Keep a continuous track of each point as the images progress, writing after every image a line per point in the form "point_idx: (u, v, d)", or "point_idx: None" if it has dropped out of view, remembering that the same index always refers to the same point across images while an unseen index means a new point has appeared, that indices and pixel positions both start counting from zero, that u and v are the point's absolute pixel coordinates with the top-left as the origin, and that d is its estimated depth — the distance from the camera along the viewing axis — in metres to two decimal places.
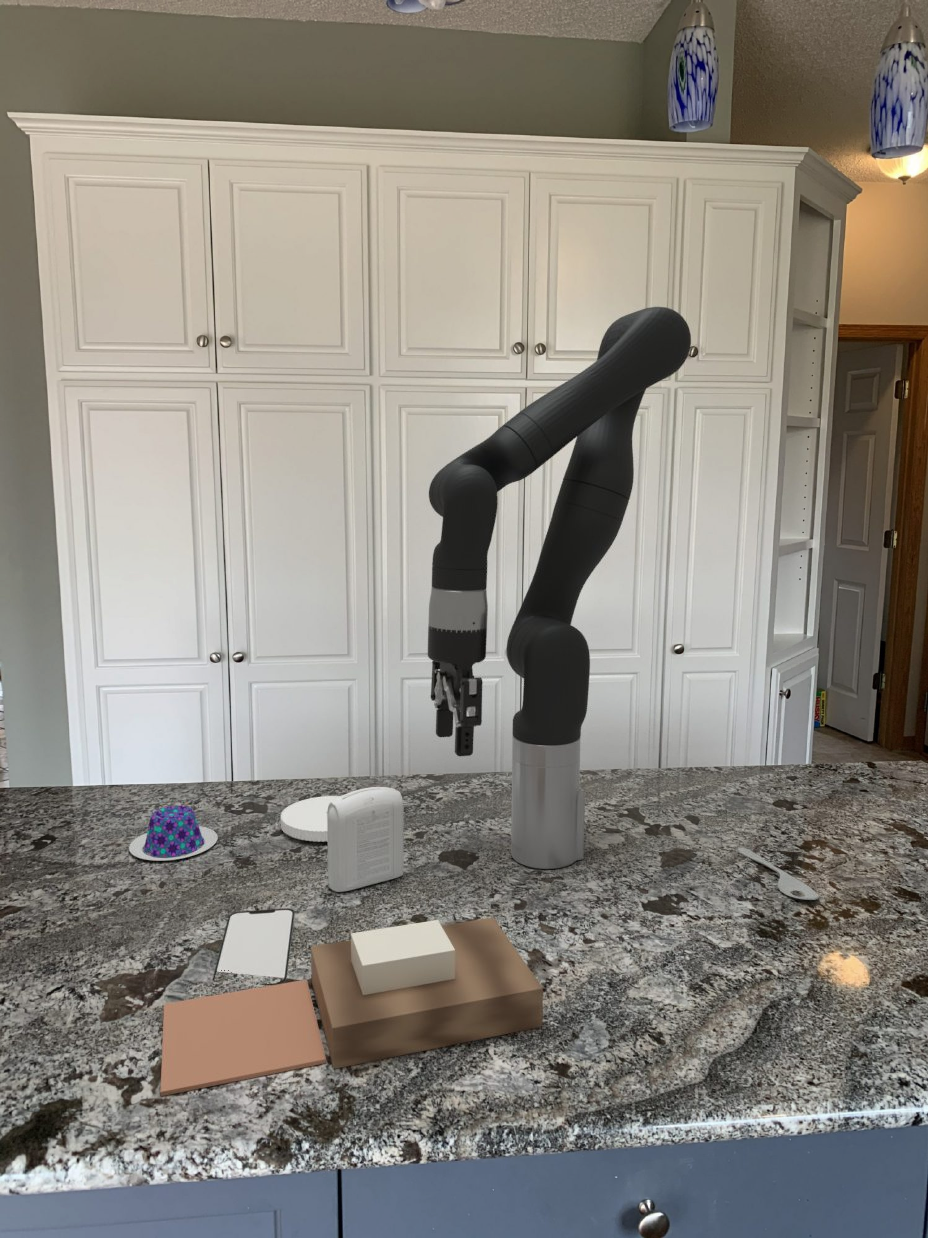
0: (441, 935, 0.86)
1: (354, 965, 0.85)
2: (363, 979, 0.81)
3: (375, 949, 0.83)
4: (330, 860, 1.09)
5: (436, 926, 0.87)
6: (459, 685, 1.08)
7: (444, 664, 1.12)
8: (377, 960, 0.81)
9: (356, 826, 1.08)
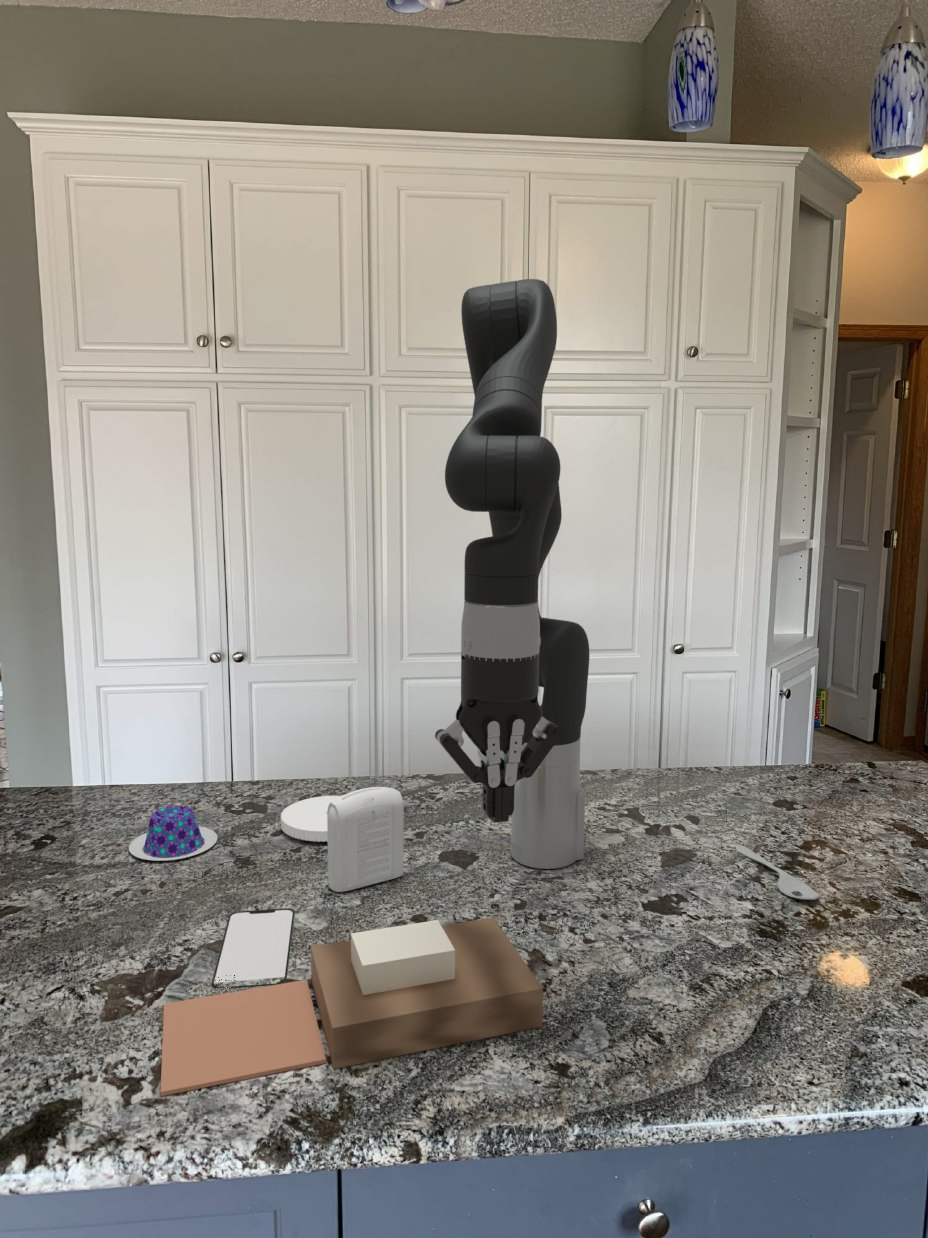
0: (441, 935, 0.86)
1: (354, 965, 0.85)
2: (363, 979, 0.81)
3: (375, 949, 0.83)
4: (330, 860, 1.09)
5: (436, 926, 0.87)
6: None
7: (487, 709, 0.82)
8: (377, 960, 0.81)
9: (356, 826, 1.08)
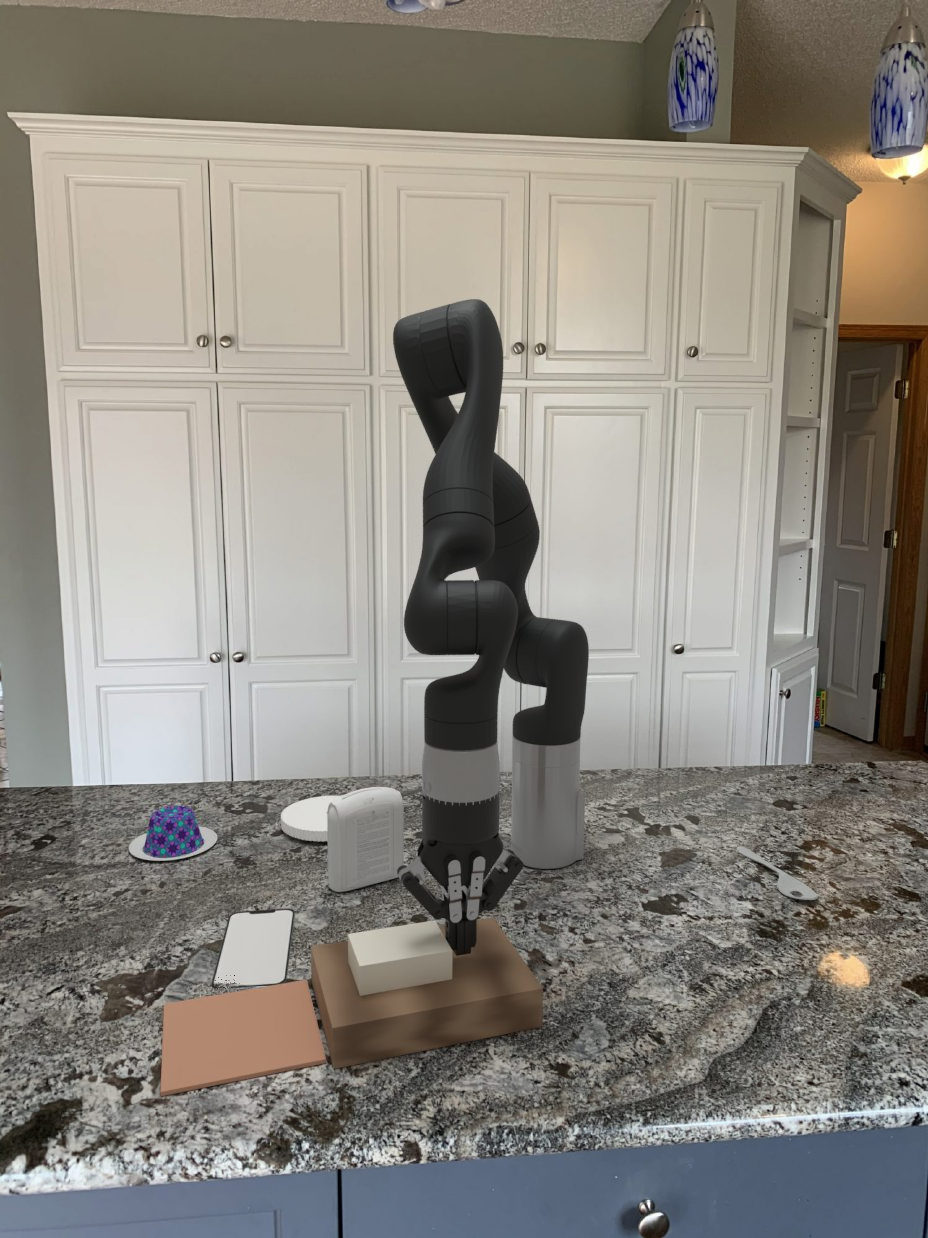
0: (438, 935, 0.85)
1: (351, 966, 0.85)
2: (360, 980, 0.80)
3: (372, 949, 0.83)
4: (330, 860, 1.09)
5: (433, 926, 0.87)
6: None
7: (448, 847, 0.83)
8: (374, 961, 0.81)
9: (356, 826, 1.08)
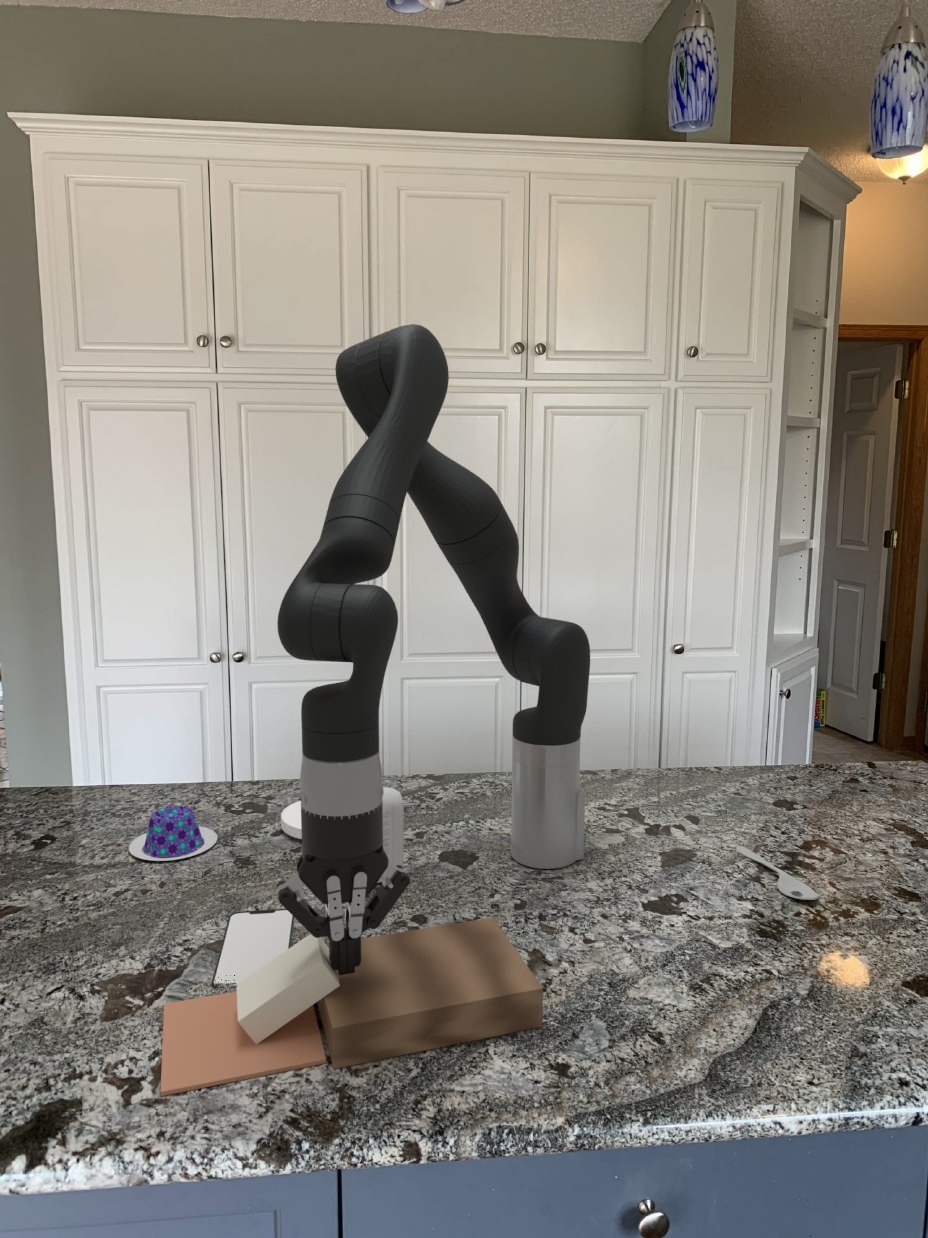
0: (314, 949, 0.82)
1: None
2: (247, 1031, 0.79)
3: (253, 994, 0.81)
4: None
5: (312, 939, 0.84)
6: None
7: (327, 863, 0.79)
8: (252, 1008, 0.79)
9: None
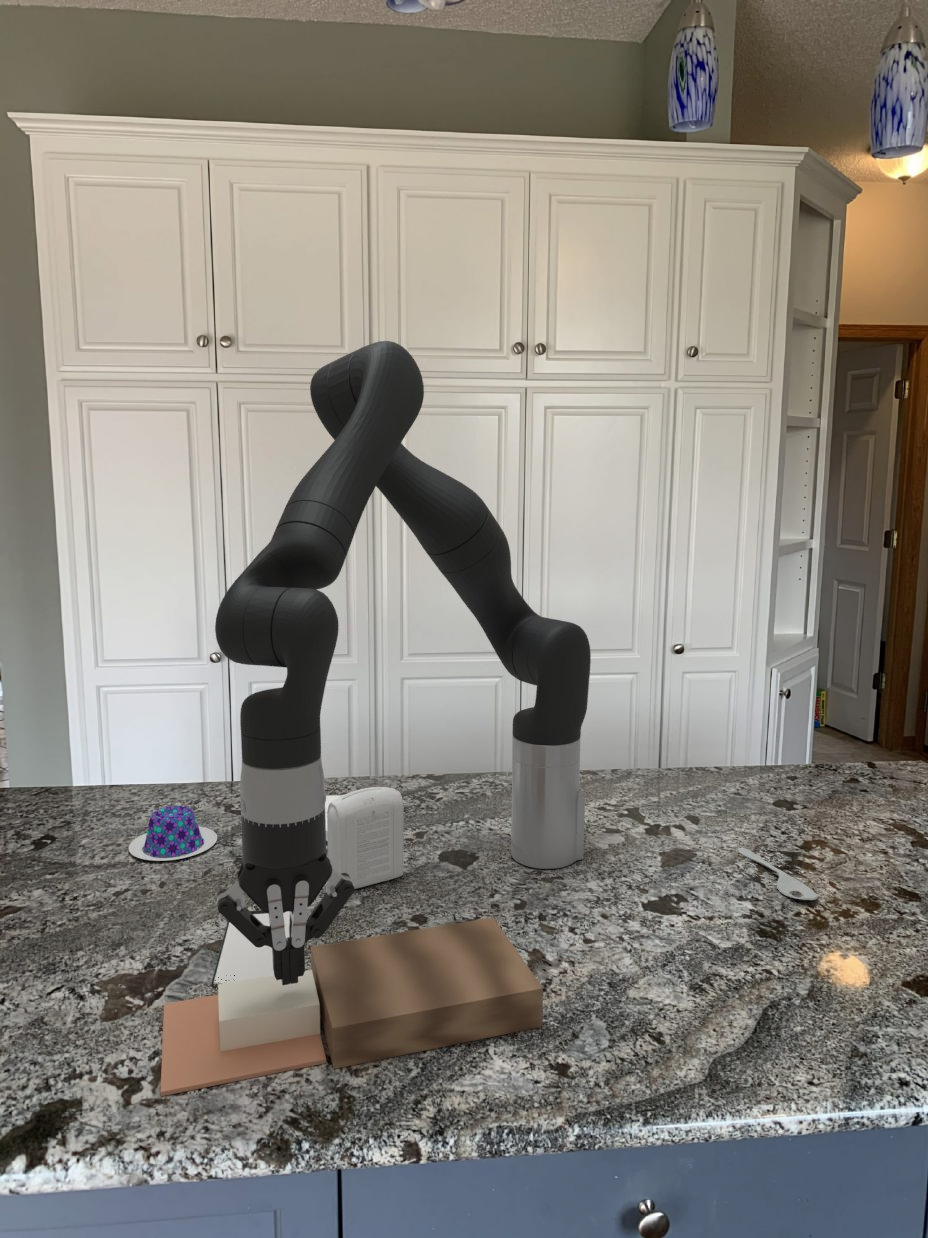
0: (310, 987, 0.83)
1: None
2: (220, 1035, 0.78)
3: (238, 1002, 0.81)
4: (330, 860, 1.09)
5: (308, 977, 0.85)
6: None
7: (268, 871, 0.78)
8: (236, 1015, 0.79)
9: (356, 826, 1.08)
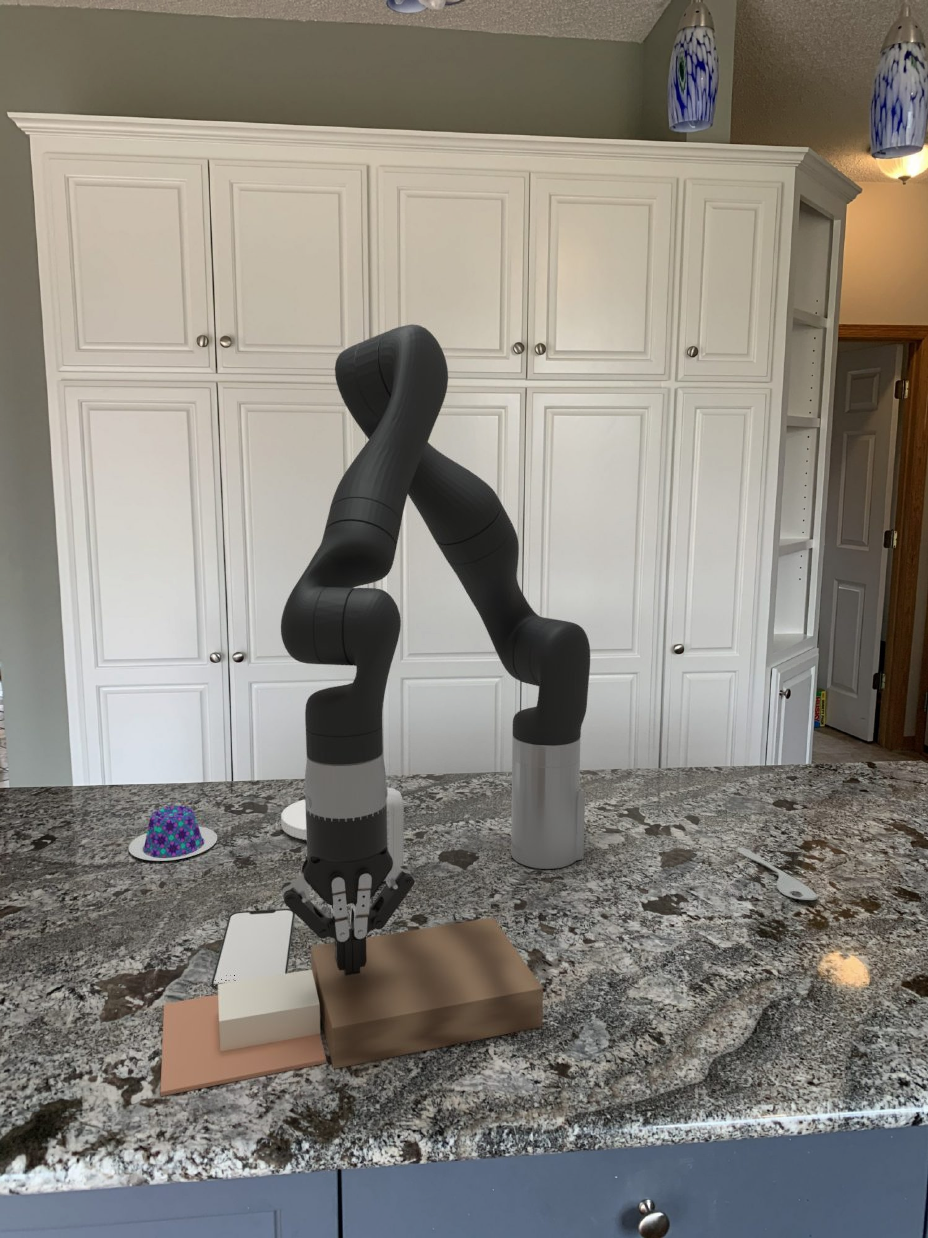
0: (310, 987, 0.83)
1: None
2: (220, 1035, 0.78)
3: (238, 1002, 0.81)
4: None
5: (308, 977, 0.85)
6: None
7: (332, 864, 0.80)
8: (236, 1015, 0.79)
9: None
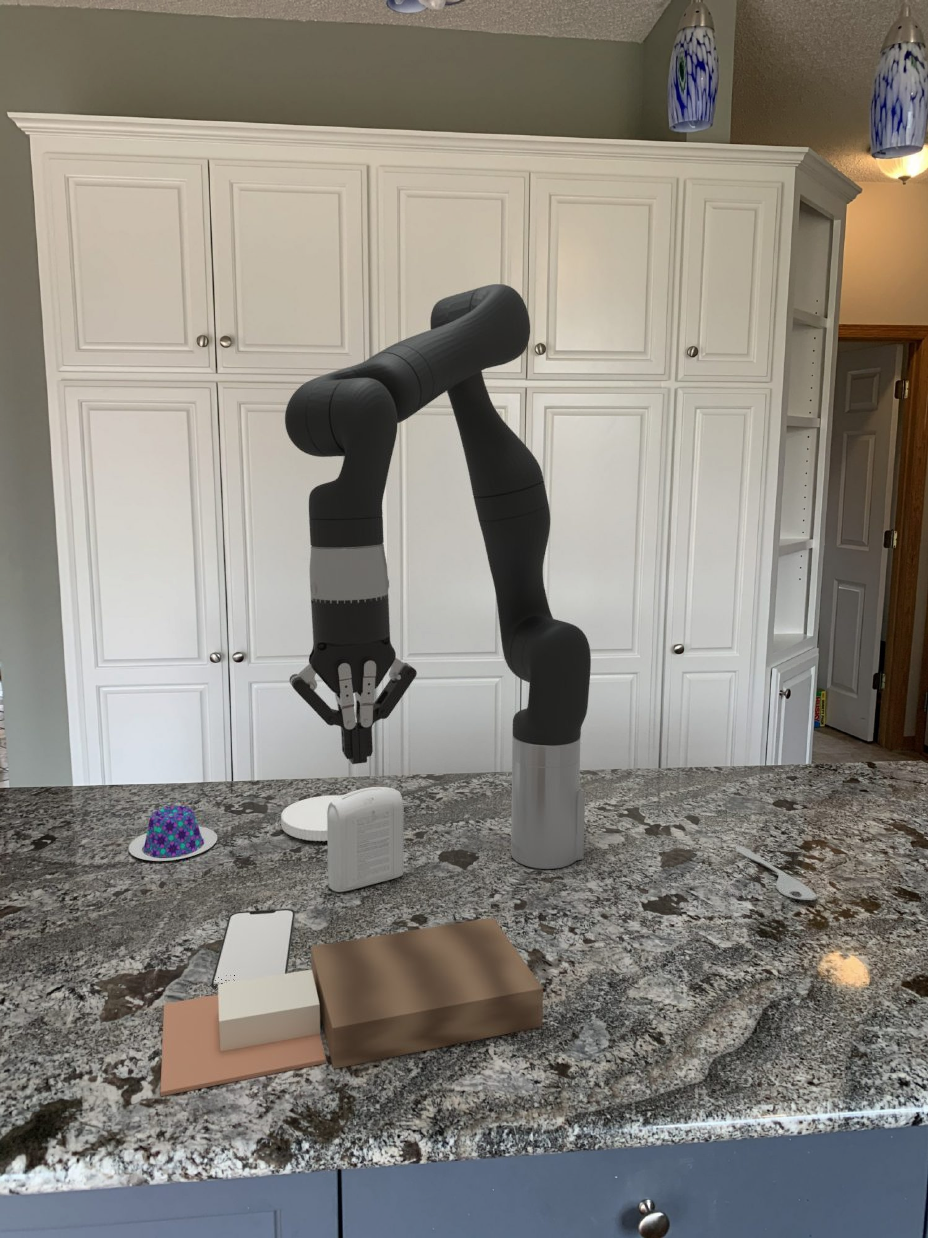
0: (310, 987, 0.83)
1: None
2: (220, 1035, 0.78)
3: (238, 1002, 0.81)
4: (330, 860, 1.09)
5: (308, 977, 0.85)
6: None
7: (338, 652, 0.84)
8: (236, 1015, 0.79)
9: (356, 826, 1.08)
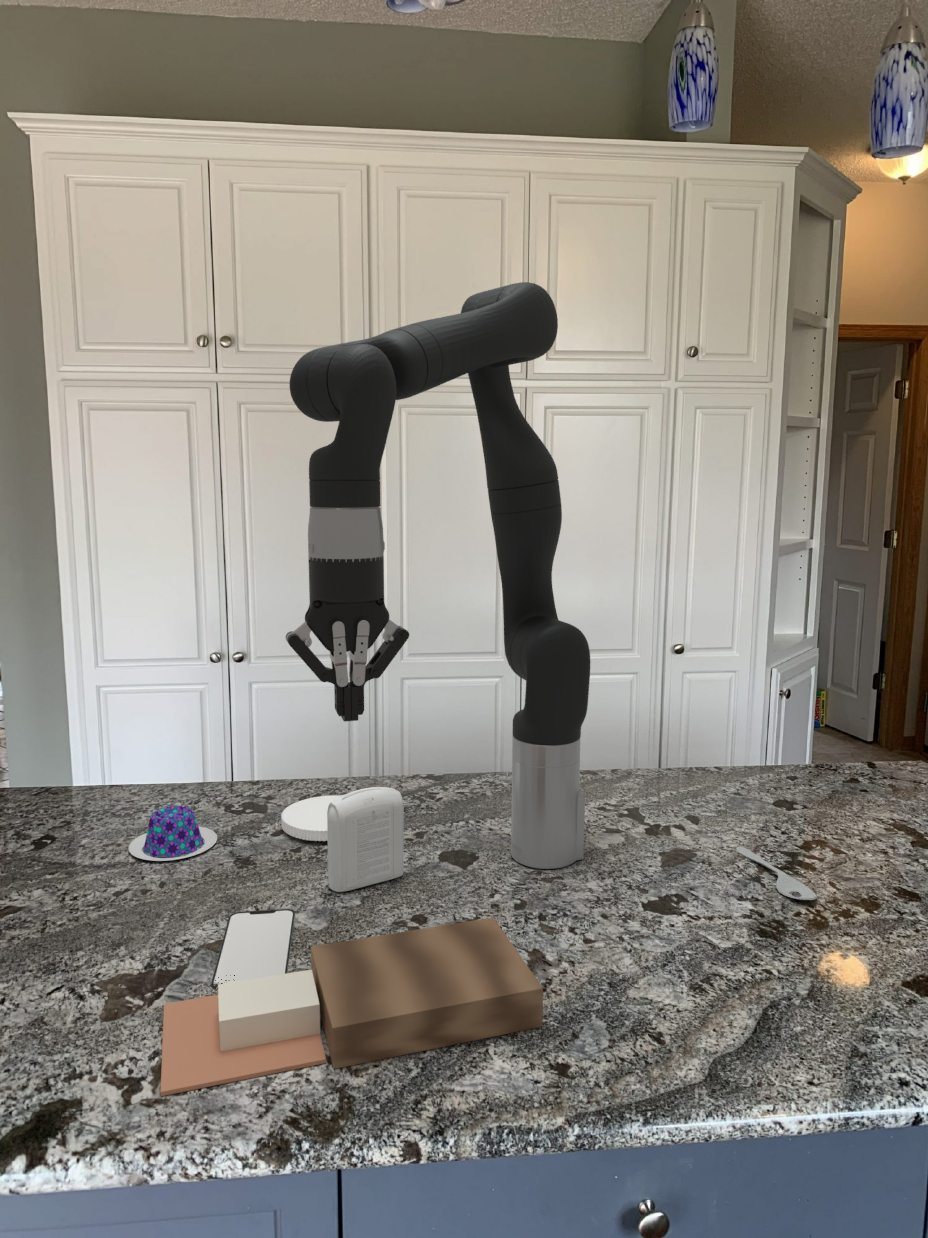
0: (310, 987, 0.83)
1: None
2: (220, 1035, 0.78)
3: (238, 1002, 0.81)
4: (330, 860, 1.09)
5: (308, 977, 0.85)
6: None
7: (333, 610, 0.86)
8: (236, 1015, 0.79)
9: (356, 826, 1.08)
